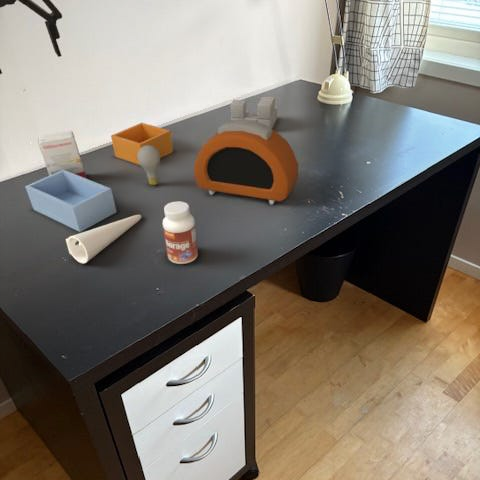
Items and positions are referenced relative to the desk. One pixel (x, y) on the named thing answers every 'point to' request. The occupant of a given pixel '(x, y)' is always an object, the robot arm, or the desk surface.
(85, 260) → the long cone
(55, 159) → the ink box
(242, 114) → the gray notched block
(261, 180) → the alarm clock
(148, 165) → the light bulb
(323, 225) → the desk surface
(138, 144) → the amber bin
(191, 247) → the pill bottle
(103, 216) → the blue bin
